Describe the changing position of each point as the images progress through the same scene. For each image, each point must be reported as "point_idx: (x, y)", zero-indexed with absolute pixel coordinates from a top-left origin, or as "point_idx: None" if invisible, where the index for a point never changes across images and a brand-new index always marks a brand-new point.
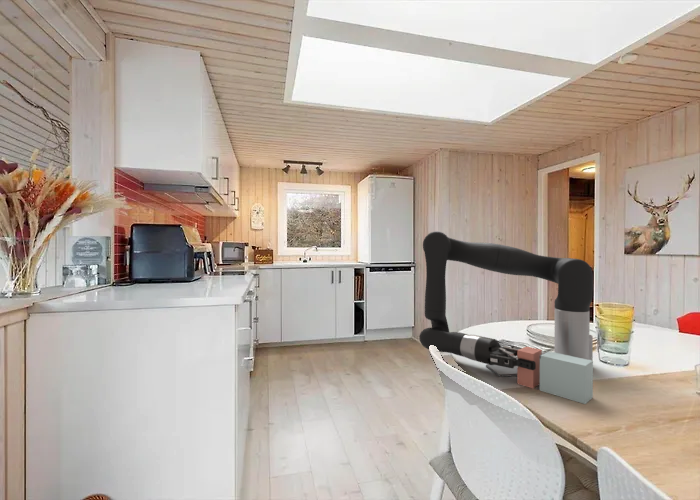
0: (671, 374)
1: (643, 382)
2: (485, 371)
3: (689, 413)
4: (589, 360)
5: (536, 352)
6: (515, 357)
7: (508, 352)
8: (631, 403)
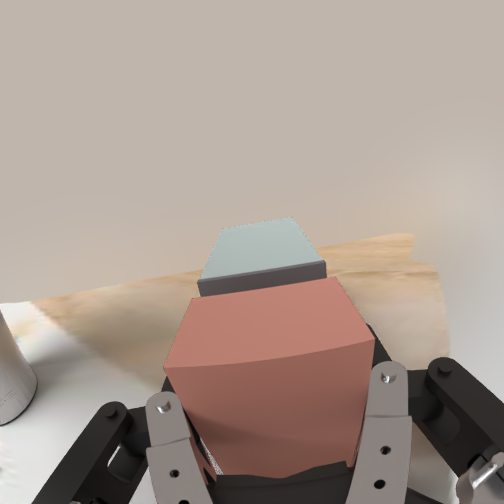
0: (45, 305)
1: (86, 314)
2: None
3: (198, 272)
4: (227, 229)
5: (280, 286)
6: (396, 379)
7: (382, 453)
8: None
